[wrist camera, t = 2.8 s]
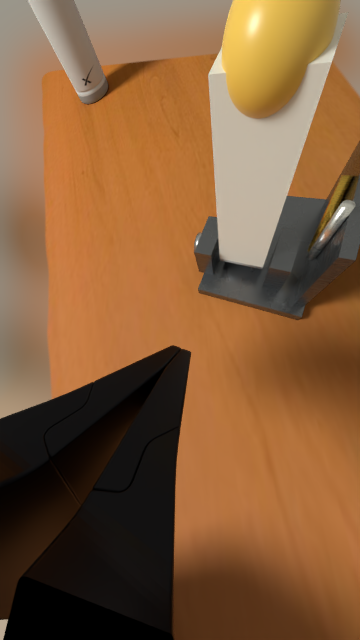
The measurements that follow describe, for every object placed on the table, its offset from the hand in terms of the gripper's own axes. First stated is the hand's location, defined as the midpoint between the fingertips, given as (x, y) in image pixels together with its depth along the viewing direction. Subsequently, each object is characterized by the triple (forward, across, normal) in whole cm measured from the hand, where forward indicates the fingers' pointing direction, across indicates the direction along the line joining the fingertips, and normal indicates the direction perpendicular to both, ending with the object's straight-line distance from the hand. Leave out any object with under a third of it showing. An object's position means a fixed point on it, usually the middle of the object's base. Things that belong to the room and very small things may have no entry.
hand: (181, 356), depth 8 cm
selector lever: (+15, 0, -1) cm, 15 cm away
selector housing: (+18, -1, -1) cm, 18 cm away
